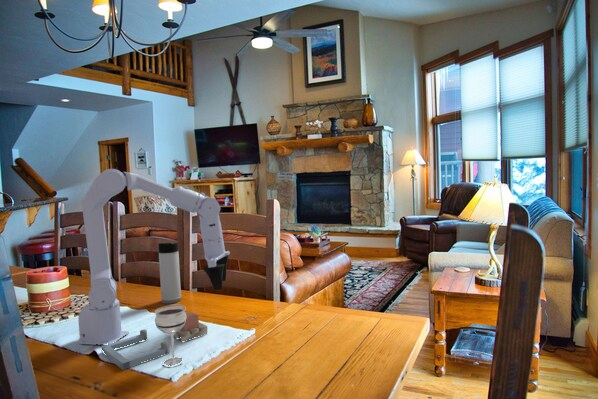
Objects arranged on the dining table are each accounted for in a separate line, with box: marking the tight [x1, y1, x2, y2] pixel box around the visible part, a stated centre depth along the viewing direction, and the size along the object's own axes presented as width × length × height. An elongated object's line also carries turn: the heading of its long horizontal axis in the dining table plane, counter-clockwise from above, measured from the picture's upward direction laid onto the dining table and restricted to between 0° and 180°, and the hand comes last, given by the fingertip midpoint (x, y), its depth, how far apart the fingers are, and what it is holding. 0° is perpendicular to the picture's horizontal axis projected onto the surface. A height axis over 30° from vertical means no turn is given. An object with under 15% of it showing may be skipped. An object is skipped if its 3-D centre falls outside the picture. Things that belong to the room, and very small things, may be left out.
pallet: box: [174, 322, 208, 342], centre depth 106 cm, size 7×7×2 cm
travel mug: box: [157, 242, 182, 305], centre depth 135 cm, size 6×7×20 cm
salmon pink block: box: [182, 311, 199, 331], centre depth 106 cm, size 4×4×3 cm
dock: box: [100, 329, 169, 371], centre depth 96 cm, size 11×13×2 cm
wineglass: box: [154, 304, 187, 366], centre depth 90 cm, size 7×7×12 cm
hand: (220, 284), depth 116 cm, fingers open, 7 cm apart
